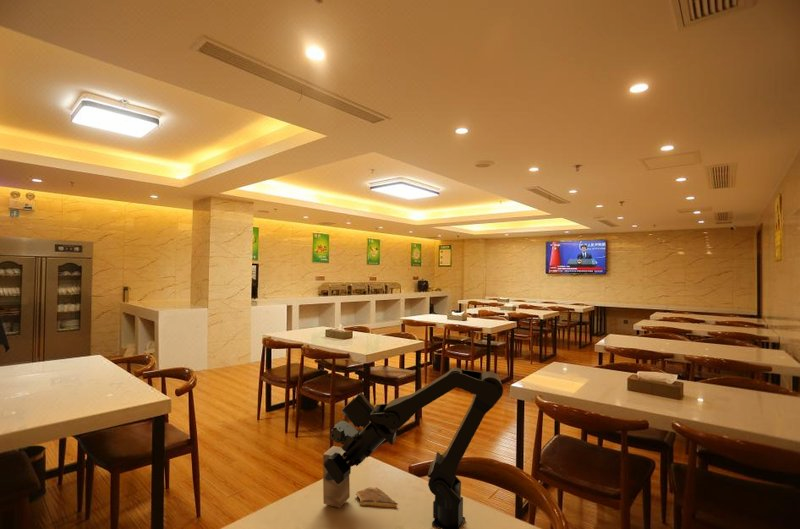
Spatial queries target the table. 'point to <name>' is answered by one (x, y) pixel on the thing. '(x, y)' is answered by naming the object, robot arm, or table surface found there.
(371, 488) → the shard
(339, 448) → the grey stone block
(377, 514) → the table surface
